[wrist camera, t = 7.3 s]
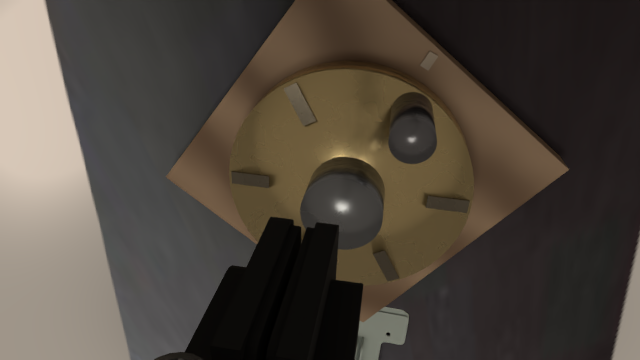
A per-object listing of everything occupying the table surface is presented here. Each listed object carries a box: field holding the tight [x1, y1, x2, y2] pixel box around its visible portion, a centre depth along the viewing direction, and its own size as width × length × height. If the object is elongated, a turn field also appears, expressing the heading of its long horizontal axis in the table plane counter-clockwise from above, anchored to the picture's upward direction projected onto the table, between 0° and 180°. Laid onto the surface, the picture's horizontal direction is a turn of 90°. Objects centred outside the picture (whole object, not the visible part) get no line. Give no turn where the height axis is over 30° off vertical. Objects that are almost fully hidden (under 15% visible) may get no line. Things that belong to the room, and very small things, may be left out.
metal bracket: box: [355, 307, 409, 360], centre depth 44 cm, size 14×6×15 cm
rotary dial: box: [229, 61, 474, 286], centre depth 30 cm, size 16×16×7 cm
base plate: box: [166, 0, 569, 322], centre depth 34 cm, size 20×20×2 cm
